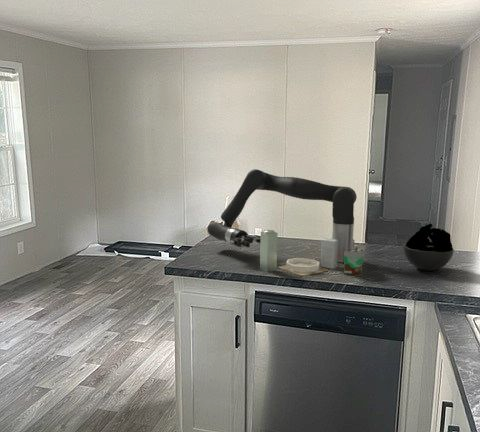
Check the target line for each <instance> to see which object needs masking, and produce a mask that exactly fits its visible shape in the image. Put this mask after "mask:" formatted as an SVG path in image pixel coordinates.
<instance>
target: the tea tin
mask: <svg viewBox="0 0 480 432" xmlns="http://www.w3.org/2000/svg"><path fill="white" fill-rule="evenodd" d="M278 235H279V234H278V232H276V231H275V230H273V229H264V230H263V231H260V236H261V238H260V244H259V245H260V246H259V247H260V248H259V250H260V251H259V270H261V271H264V272H265V273H268V272H269V273H270V272H273V271H277V269H278Z"/></svg>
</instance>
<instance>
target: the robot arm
mask: <svg viewBox="0 0 480 432" xmlns="http://www.w3.org/2000/svg"><path fill="white" fill-rule="evenodd" d="M257 190H258V191H268V192H269V191H270V192H277V193H279V194H282V195H284V196H288V197H291V198H296V199H301V200H307V201H308V200H309V201H326V202H330V203H332V209H331V210H332V213H331V214H332V215H331V216H332V234H331V235H332V236H331V237H332V238H331V239H335V240H338V242H337V263H344V251H350V250H353V249H355V239H354V226H355V217H354V215H355V214H354V212H355V210H354V209H355V203H356V202H357V193H356V191H355V190H354V189H353V188H352V187H350V186H340V185H332V184H331V185H329V184H325V183H322V182H318V181H314V180H310V179H306V178H301V177H294V176H278V175H274V174H270V173H267V172H265V171H262V170H260V169H254V168H253V169H251V170H250V171H249V172H248V173H247V174H246V176H245V178H244V179H243V182H242V184H241V185H240V187H239V189H238V191H237V192H236V194H235V196H234V197H233V199H232V200H231V201H230V202H229V204H228V205H227V206H226V208H225V209H224V211H223V212H222V213H221V215H220V218H221V220H222V221H223V222H224V223H223V224H222V223H220V222H218V221H213V222H211V223H209V224H208V226H207V228H206V229H207V233H208V235H209V236H211V237H213V238H215V239H217V240H219V241H223V242H226V243H229V244H231V245H233V246H235V247H238V248H239V247H240V248H243V247H245V248H250V246H251V245H257V244H258V245H260V238H261V235H257V234H255V235H250V234H248V232H247V231H245V230H243V229H239V228H235V227H233V225H234V223H235V221H236V220H237V218H238V217H239V216H240V215H241V213H242V212H243V210H244V209H245V205H246V203H247V202H248V199H250V197H251V195H252V194H254V192H256V191H257Z"/></svg>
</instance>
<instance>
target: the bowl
mask: <svg viewBox="0 0 480 432" xmlns="http://www.w3.org/2000/svg"><path fill="white" fill-rule="evenodd" d="M285 265H286V267H287V269H288V270H290V271H293V272H300V273H311V272H316V271H318V270H319V267H320V261H318V260H316V259H313V258H309V257H304V258H303V257H296V258H295V257H294V258H289V259H287V260H286V262H285Z"/></svg>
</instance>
